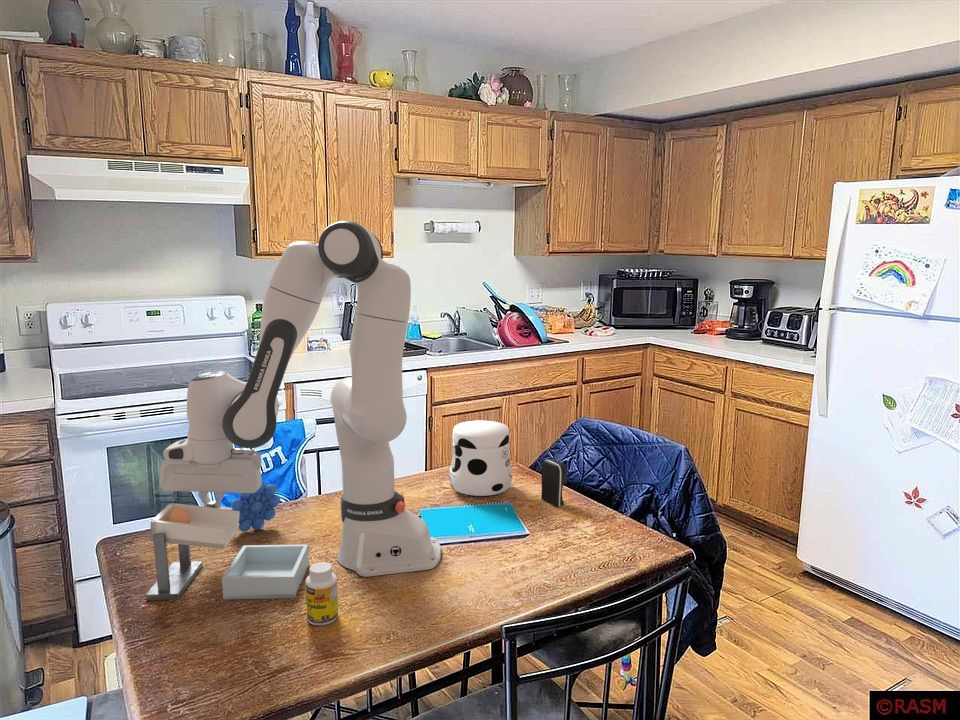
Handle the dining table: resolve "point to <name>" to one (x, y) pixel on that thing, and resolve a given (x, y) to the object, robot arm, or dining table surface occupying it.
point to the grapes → (256, 507)
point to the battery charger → (553, 481)
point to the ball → (180, 516)
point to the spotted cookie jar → (480, 459)
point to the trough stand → (171, 571)
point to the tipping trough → (197, 526)
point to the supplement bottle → (321, 594)
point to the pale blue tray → (266, 572)
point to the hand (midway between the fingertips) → (212, 510)
